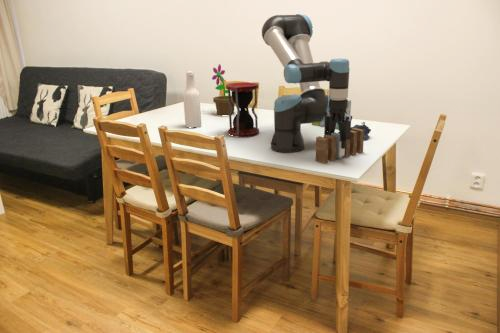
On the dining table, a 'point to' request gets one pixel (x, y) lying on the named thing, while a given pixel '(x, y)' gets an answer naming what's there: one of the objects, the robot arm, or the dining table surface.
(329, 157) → the domino
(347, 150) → the domino
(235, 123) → the hourglass
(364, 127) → the frog
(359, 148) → the domino
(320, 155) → the domino
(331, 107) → the robot arm
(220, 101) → the flowerpot
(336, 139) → the domino
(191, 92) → the alcohol
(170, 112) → the dining table surface
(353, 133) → the domino
